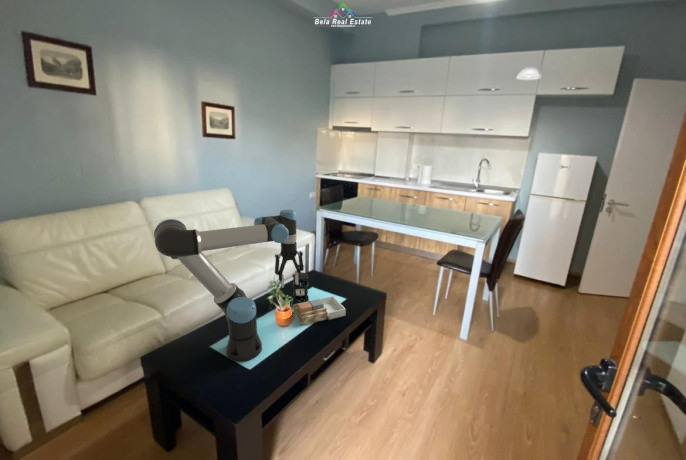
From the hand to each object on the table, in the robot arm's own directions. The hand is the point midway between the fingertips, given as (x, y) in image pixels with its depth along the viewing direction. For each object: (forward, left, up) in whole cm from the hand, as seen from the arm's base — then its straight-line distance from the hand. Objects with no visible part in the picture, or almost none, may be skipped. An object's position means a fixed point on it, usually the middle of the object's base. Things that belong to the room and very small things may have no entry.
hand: (289, 285), depth 160 cm
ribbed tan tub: (+11, 0, -20) cm, 23 cm away
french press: (+11, +16, -20) cm, 28 cm away
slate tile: (+15, 0, -16) cm, 22 cm away
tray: (+23, 0, -20) cm, 31 cm away
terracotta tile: (+8, 0, -16) cm, 18 cm away
